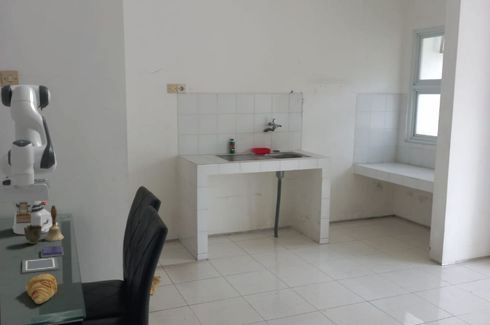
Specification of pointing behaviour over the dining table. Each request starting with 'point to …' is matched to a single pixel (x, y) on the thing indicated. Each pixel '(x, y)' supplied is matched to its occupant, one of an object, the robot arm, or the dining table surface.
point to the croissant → (41, 287)
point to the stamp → (23, 213)
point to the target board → (39, 265)
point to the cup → (33, 233)
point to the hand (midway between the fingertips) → (23, 211)
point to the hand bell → (54, 228)
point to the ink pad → (52, 251)
